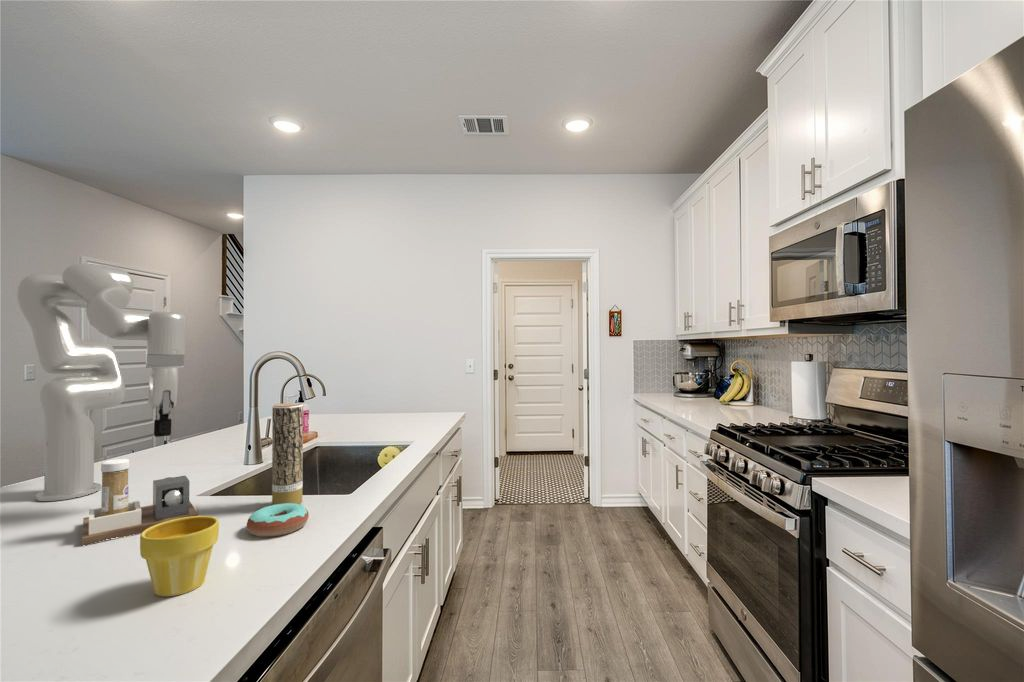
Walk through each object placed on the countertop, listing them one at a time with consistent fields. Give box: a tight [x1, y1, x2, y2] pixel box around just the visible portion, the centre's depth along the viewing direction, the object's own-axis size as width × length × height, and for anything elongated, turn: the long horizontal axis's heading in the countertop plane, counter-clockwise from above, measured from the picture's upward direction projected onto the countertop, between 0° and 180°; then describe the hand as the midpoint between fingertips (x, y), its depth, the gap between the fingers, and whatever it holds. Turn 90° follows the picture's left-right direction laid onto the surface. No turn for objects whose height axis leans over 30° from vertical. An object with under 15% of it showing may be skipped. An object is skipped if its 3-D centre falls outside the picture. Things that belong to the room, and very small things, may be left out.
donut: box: [246, 503, 309, 538], centre depth 98 cm, size 12×12×4 cm
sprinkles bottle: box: [100, 458, 130, 516], centre depth 97 cm, size 5×5×14 cm
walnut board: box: [81, 500, 199, 547], centre depth 101 cm, size 15×19×2 cm
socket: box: [88, 500, 142, 535], centre depth 96 cm, size 8×8×3 cm
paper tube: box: [271, 402, 304, 505], centre depth 112 cm, size 7×7×25 cm
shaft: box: [162, 476, 183, 506], centre depth 102 cm, size 11×5×5 cm, turn 43°
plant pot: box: [139, 515, 220, 598], centre depth 74 cm, size 10×10×10 cm
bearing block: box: [152, 475, 190, 521], centre depth 102 cm, size 6×6×8 cm
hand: (162, 435), depth 111 cm, fingers closed
